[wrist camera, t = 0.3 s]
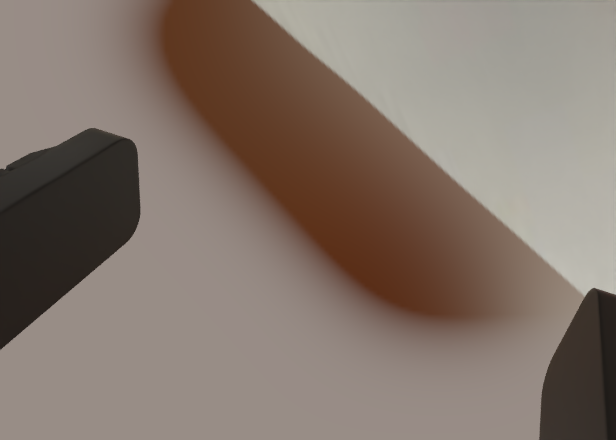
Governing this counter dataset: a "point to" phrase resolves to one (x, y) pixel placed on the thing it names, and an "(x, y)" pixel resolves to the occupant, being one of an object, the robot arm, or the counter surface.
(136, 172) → the robot arm
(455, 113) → the counter surface
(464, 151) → the counter surface
